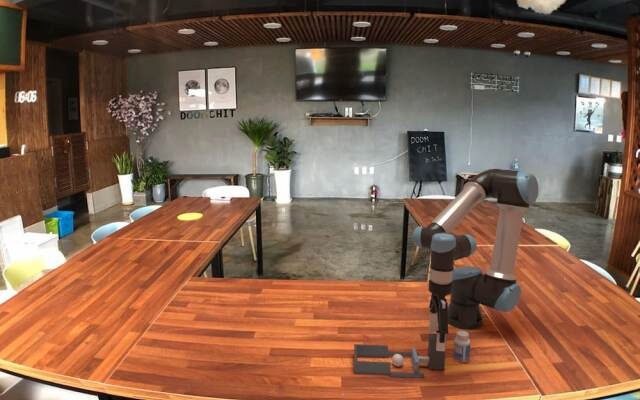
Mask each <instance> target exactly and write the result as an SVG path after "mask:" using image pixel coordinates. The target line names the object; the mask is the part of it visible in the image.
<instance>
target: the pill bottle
mask: <svg viewBox="0 0 640 400" xmlns="http://www.w3.org/2000/svg"><path fill="white" fill-rule="evenodd" d="M469 335H470V334H469V332H467V331H465V330H458V331H456V337H454V342H453V359H454V360H455V361H457V362H459V363H467V362H469V361H470V356H471V354H470V353H471V339H469Z"/></svg>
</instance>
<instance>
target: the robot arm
mask: <svg viewBox="0 0 640 400" xmlns="http://www.w3.org/2000/svg"><path fill="white" fill-rule="evenodd" d="M538 197H539V183H538V180H537V177H536V176H535V175H534V174H533V173H531V172H528V171H523V170H511V169H500V168H490V169H486V170H484V171H481V172H479V173H477V174H476V175H475V176H473V177H471V178H470V179H469V180H468V181H467V182H466V183H465V184H463V187H462V190H461V191H460V193H458V195H457V196H456V197H455V198H454V199H453V200H452V201H450V202H449V204H448V205H447V206H446V207H444V208H443V210H442V211H440V213H439V214H437V216H436V217H434V218H433V220H432V221H431V222H430V223H429V224H428V225H427V226H417V227H416V228H415V229H414V230H413V231H412V236H411V240H412V244H413V245H414V246H416V247H418V248H421V249H422V250H424V249H425V250H428V251H430V263H429V270H428V271H427V273H428V274H429V276H428V277H429V280H428V291H429V293H431V295H430V300H429V305H428V309H429V312H430V313H429V322H428V323H429V325H428V331H429V332H435V334H437V344H436V351H445V345H446V346H447V335H449V325H451V326H453V327H456V328H459V329H465V330H473V329H478V328H481V327H482V326H483V323H484V322H483V321H484V319H483V318H484V317H483V314H482V310H481V306H482V305H483V306H484V307H488V308H490V309H494V310H495V311H499V312H503V313H508V312H511V311H513V309H514V308H515V307H516V306H517V304H518V303H519V301H520V298H521V294H522V288H521V286H520V284H518V283H517V280H518V279H517V276H516V275H515V274H514V272H515V266H516V260H517V254H518V248H519V243H520V237H521V232H522V231H521V230H522V224H523V220H524V214H525V212H526V211H527V210H529V209H530V205H533V204H534V203H536V201H537V199H538ZM486 199H496V205H497V207H498V208H499V213H498V218H497V224H496V230H495V236H494V241H493V242H494V243H493V247H492V248H493V249H492V253H491V260H490V266H489V268H488V269H487V270H485V271H484V274H483V270H482V268H480V267H478V266H474V265H472V266H470V265H469V266H468V265H467V266H466V265H465V266H458V267H455V268H454V265H455V261H457V260H461V259H464V258H468V257H470V256H471V255H474V254H475V252H476V251H477V249H478V245H477V241H476V239H475V238H474V237H473V236H472V235H471V234H467V233H466V234H465V233H464V234H460V235H458V234H453V233H451V232H452V231H453V230H454V229H455V227H457V226H458V225H459V223H461V222H462V220H463V219H464V218H465V217H466V216H467V215H468V214H469V213H470V212H471V211H472V210H473V208H475V206H477V205H478V204H479V203H482V202H484V201H485V200H486ZM446 296H450V299H449V300H450V301H449V302H447V301H448V300H447V298H446Z"/></svg>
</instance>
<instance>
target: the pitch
mask: <svg viewBox="0 0 640 400" xmlns="http://www.w3.org/2000/svg"><path fill="white" fill-rule="evenodd" d="M416 352H417V351H416ZM395 354H400V355H401V356H402V357H412V351H391V350H389V346H388V345H387V344H386V345H385V344H358V343H356V344H353V374H362V375H363V374H365V375H381V376H382V375H384V376H385V375H386V376H390V377H391V378H411V379H412V378H413V379H417V378H418V379H425V373H424V372H419V373H415V372H407V371H406V372H405V371H391V363H392V362H388V361H369V360H367V361H366V360H365V361H364V360H358V357H372V358H376V357H379V358H388V357H393V356H394V355H395ZM417 356H420V355H419V352H417Z"/></svg>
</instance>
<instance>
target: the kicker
mask: <svg viewBox="0 0 640 400" xmlns="http://www.w3.org/2000/svg"><path fill="white" fill-rule="evenodd" d="M436 344H437V333H432V332H431V333H428V347H427V356H422V355H419V356H417V350H416V347H411V352H412V357H411V362H412V366H413V370H414V373H420V372H419V371H420V370H419V368H420V364H427V365H428V369H429V370H439V371H441V370H443V371H444V370H445V366H446V351H447V349H446V348H447V344H446V345H445V351H436Z"/></svg>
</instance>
